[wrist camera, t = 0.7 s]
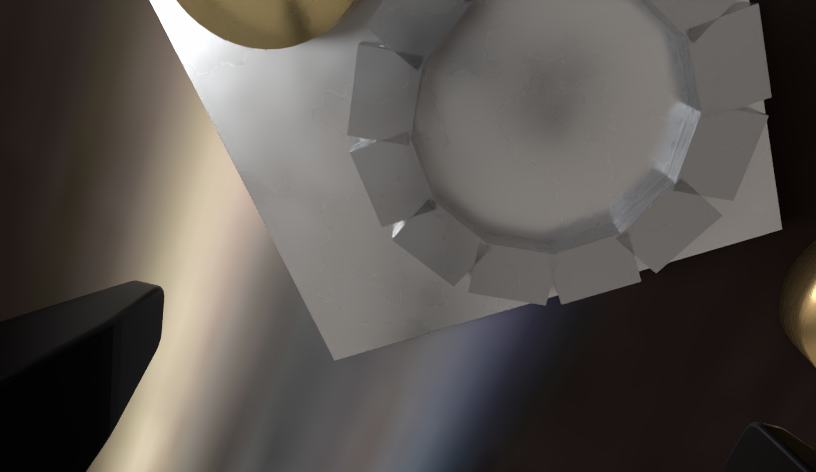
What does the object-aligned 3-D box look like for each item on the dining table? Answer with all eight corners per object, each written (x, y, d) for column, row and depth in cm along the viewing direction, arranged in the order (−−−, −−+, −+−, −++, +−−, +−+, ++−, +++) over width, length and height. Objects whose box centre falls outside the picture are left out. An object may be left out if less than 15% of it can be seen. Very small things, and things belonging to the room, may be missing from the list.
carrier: (764, 216, 21) (856, 285, 17) (339, 343, 25) (315, 431, 20) (660, -457, 14) (767, -667, 10) (87, -158, 18) (-43, -207, 13)
